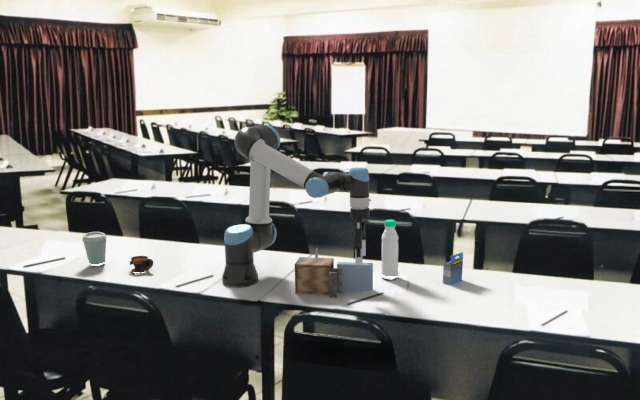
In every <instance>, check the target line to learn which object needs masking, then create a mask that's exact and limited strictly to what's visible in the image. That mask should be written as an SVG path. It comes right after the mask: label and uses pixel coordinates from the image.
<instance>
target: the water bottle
mask: <svg viewBox="0 0 640 400" xmlns="http://www.w3.org/2000/svg"><path fill="white" fill-rule="evenodd" d="M396 223H397V221H396V220H395V219H386V220H384V221H383V224H384V231H383V233H382V235H381V272H380V273H381V274H383V275H385V276H398V277H399V234H398V233H397V230H396V229H395V228H396V226H397V224H396ZM381 274H380V275H381Z"/></svg>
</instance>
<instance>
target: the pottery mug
mask: <svg viewBox="0 0 640 400" xmlns="http://www.w3.org/2000/svg"><path fill="white" fill-rule="evenodd" d="M130 259H131V260H130V261H129V266H131V265H134V266H133V267H134V268H132V269H131V273H132V272H144V271H145V272H146V271H147V272H148V270H149V271H150V269H152V267H153V265H154V260H153V259H151V258H149V257H148V256H146V255H136V256H131V258H130Z"/></svg>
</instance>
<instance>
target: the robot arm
mask: <svg viewBox="0 0 640 400" xmlns="http://www.w3.org/2000/svg"><path fill="white" fill-rule="evenodd" d="M280 145H281V137H280V133H279V132H278V131H277V130H276V128H275V127H273V126H271V125H267V124H266V125H265V124H260V125H259V124H258V125H253V126H246V127H243V128H240V130H238V131H237V132H236V134H235V137H234V146H235V149H236V151H237V152H238V153H239V154H240V155H241V156H242V157H244V158H246V159H247V160H249V161H250V167H249V169H250V171H249V174H250V176H249V197H248V198H249V199H248V201H249V203H248V204H249V205H248V206H249V207H248V208H249V209H248V216H247V217H245V220H244V222H245V223H244V224H243V223H242V224H241V223H240V224H239V223H238V224H237V225H236V224H235V225H231V226H229V227H227V228H226V230H225V231H224V237H223V239H224V254H225V255H224V257H225V266H224V270H223V273H222V277H221V278H222V279H221V280H222V281H221V283H222V282H223V283H222V284H223V285H224V284H225V286H226V285H228V286H227V287H231V286H236V287H235V288H242V287H241V286H244V287H249V286H253V285H255V284H257V283H258V282H259V273H258V271H257V269H256V265H255V262H254V254H255V253H257V252H260V251H262V250H265V249H267V248H269V247H270V246H272V245H273V244H274V243H275V242H276V240H277V239H276V238H277V234H278V233H277V228H276V227H275V224H274V223H273V219H272V218H271V217H270V196H271V195H270V193H271V171H273V172H275V173H277V174H279V175H280V176H282V177H284V178H286V179H287V180H289V181H291V182H293V183H295V184H296V185H297V186H300V187H302V188H303V189H305V192H306V193H307V195H308V196H309V197H311V198H312V199H313V198H314V199H317V198H318V199H319V198H323V197H325V196H328V195H330V194H334V193H337V192H345V193H349V207H350V210H349V213H350V214H349V215H350V218H351V219H354V220H355V222H354V245H353V248H352V249H353V250H354V254H355V255H354V259H355V260H354V263H355V265H363V263H364V261H363V259H364V258H363V257H365V256H366V254H367V253H366V247H367V246H366V240H368V236H367V235H366V234H367V233H366V219H368V218H370V213H371V212H370V208H369V207H370V202H371V201H372V200H371V198H370V175H369V174H370V173H369V169H368V168H366V167H351V168H350V169H349V171H348V172H341V171H340V172H338V171H325V172H323V173H322V175H321V174H319V173H317V172H316V171H315V170H312V169H311V168H309V167H307V166H305V165H303V164H302V163H300V162H298V161H296V160H295V159H292V158H291V157H289V156H287V155H286V154H284V153H282V152H280V151H278V149H279V148H280Z"/></svg>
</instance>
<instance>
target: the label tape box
mask: <svg viewBox="0 0 640 400" xmlns="http://www.w3.org/2000/svg"><path fill="white" fill-rule="evenodd" d="M463 263H464V252H463V251H461V252H459V253H455V254H453V255H450V261H447V262H445V263H443V269H442V284H444V285H450V286H451V285H453V284H455V283H458V282H460V281H462V279H463Z"/></svg>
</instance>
